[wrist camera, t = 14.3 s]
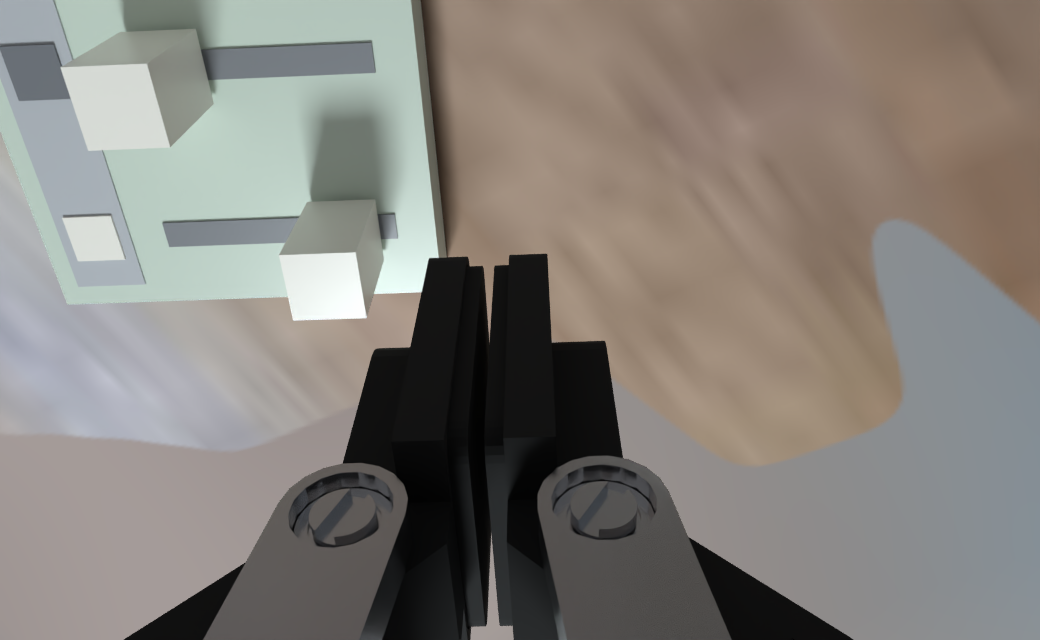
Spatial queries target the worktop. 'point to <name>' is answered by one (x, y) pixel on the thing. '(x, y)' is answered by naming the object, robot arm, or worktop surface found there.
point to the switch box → (226, 145)
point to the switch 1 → (139, 89)
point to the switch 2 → (333, 260)
